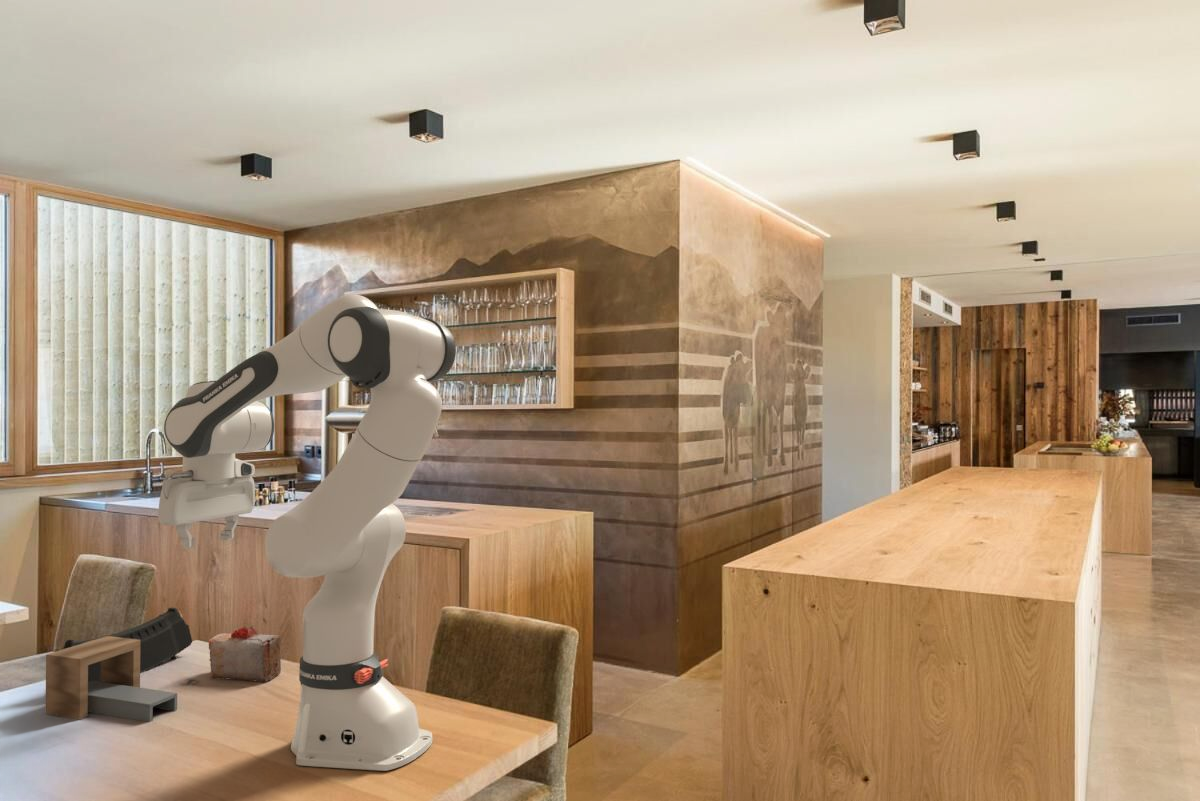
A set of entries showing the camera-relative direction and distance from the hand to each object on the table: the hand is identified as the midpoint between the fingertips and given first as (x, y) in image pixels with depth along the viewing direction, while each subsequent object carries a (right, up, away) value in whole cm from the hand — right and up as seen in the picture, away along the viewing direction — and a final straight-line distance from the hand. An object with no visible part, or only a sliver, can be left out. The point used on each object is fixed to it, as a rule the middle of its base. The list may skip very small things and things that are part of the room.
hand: (208, 543), depth 154 cm
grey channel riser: (-14, -29, -4) cm, 32 cm away
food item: (+1, -30, +15) cm, 33 cm away
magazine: (-23, -29, +14) cm, 40 cm away
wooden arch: (-20, -29, -2) cm, 35 cm away
